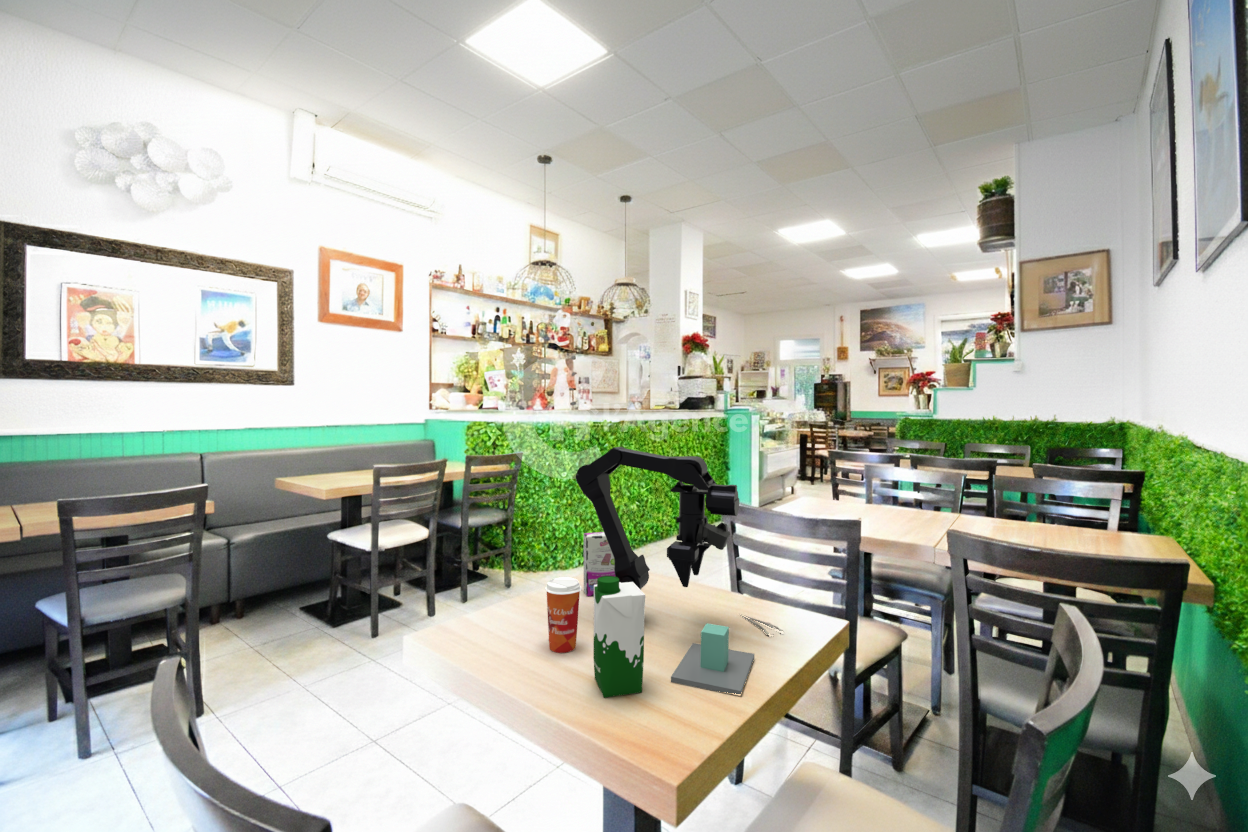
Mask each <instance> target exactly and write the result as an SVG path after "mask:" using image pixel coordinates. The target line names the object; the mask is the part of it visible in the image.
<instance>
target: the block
mask: <svg viewBox="0 0 1248 832" xmlns="http://www.w3.org/2000/svg"><path fill="white" fill-rule="evenodd" d="M729 628H730V627H729V626H725V625H718V624H712V623H706V624H705V625H704V626H703V628H702V630H701V631H700V644H701V665H700V667H701V668H706V669H711V670H716V671H721V672H724V670H725V668H726V666H727V664H728V649H730V648H729V642H730V641H729V638H730V635H729V634H730V632H729V631H730V629H729Z"/></svg>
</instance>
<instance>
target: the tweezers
mask: <svg viewBox="0 0 1248 832" xmlns="http://www.w3.org/2000/svg"><path fill="white" fill-rule="evenodd" d="M739 615H740V614H739ZM742 615H744V614H741V615H740V616H739V617H741V616H742ZM744 616H746V617H748V618H750V619H748V618H746V617H744ZM744 616H742V617H741V618H743V617H744V618H745V620H746V619H747V620H748V621H747V620H746V621H747V622H749V621H750V622H751V623H750V622H749V623H750V624H752V623H753V624H754V625H756V626H757V627H759V628H760V629H762V630H764V632H765V633H766V634H767V635H768V634H769V633H770V632H768V631H767V629H766V628H765V627H764V626H763V625H761V624H760V623H763V624H765V625H767V626H769V627H771V628H774V629H778V630H779V631H783V632H784V630H783V629H781V628H779V627H778V626H776V625H775V624H772V623H771V622H766V621H764V620H760V619H756V618H755V617H751V616H749V615H748V616H747V615H746V614H745V615H744ZM744 618H743V619H744ZM751 619H752V620H751ZM753 620H755V621H758V622H760V623H757V622H755V621H753ZM753 624H752V625H753ZM754 625H753V626H754ZM756 626H755V627H756ZM757 627H756V628H757ZM759 628H758V629H759ZM760 629H759V630H760ZM764 632H763V633H764ZM765 633H764V634H765ZM766 634H765V635H766ZM767 635H766V636H767ZM772 635H774V634H772ZM774 636H775V635H774Z"/></svg>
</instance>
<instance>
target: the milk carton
mask: <svg viewBox="0 0 1248 832" xmlns="http://www.w3.org/2000/svg"><path fill="white" fill-rule="evenodd" d="M645 604H646V594H645V593H644V592H643V591H642V589H641V590H640V589H639V588H638V587H637V586H636V585H635V583H634V582H625V583H621V582H619V578H617V577H615V576H602V577H599V578H598V579H597V584H596V585H594V596H593V672H594V673H593V674H594V681H595V682H596V684H597V687H598V688H599V690H600V692H601V694H602V697H603V698H605V699H606V698H611V697H619V696H620V697H621V696H627V695H632V694H640V693H641V694H642V692H643V678H644V677H643V676H644V659H645V657H644V655H645V651H644V650H645V608H646V607H645V606H646V605H645Z"/></svg>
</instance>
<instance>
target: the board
mask: <svg viewBox="0 0 1248 832" xmlns="http://www.w3.org/2000/svg"><path fill="white" fill-rule="evenodd" d="M753 660H754V661H755V653H751V652H748V651H747V652H746V651H741V650H735V649H730V648H729V649H728V664H727V666H726V668H725V670H724V672H721V671H716V670H711V669H706V668H701V667H700V665H701V643H696V642H692V643H691V645H690V647H689V648H688V649H687V651H686V653H685V654H684V656H683V657H682V659H681V660H680V662H679V664H678V665H677V667H676V668H675V670H674V671H673V673H672V675H671V676H670V683H674V684H678V685H679V684H680V685H683V686H688V687H694V688H698V689H704V690H707V691H711V692H712V691H713V692H717V691H718V692H717V693H721V692H726V693H727V692H728V693H734V694H735V693H736V694H741V692H742V693H743V691H744V689H743V687H744V688H745V686H744V684H745V685H746V683H745V682H747V680H748V678H747V676H748V677H749V675H750V672H749V671H751V669H752V667H751V665H752V666H753V664H752V662H753V663H754V661H753ZM750 668H751V669H750ZM748 674H749V675H748ZM746 679H747V680H746ZM742 690H743V691H742ZM719 691H720V692H719ZM726 693H725V694H726ZM741 695H742V694H741Z"/></svg>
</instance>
